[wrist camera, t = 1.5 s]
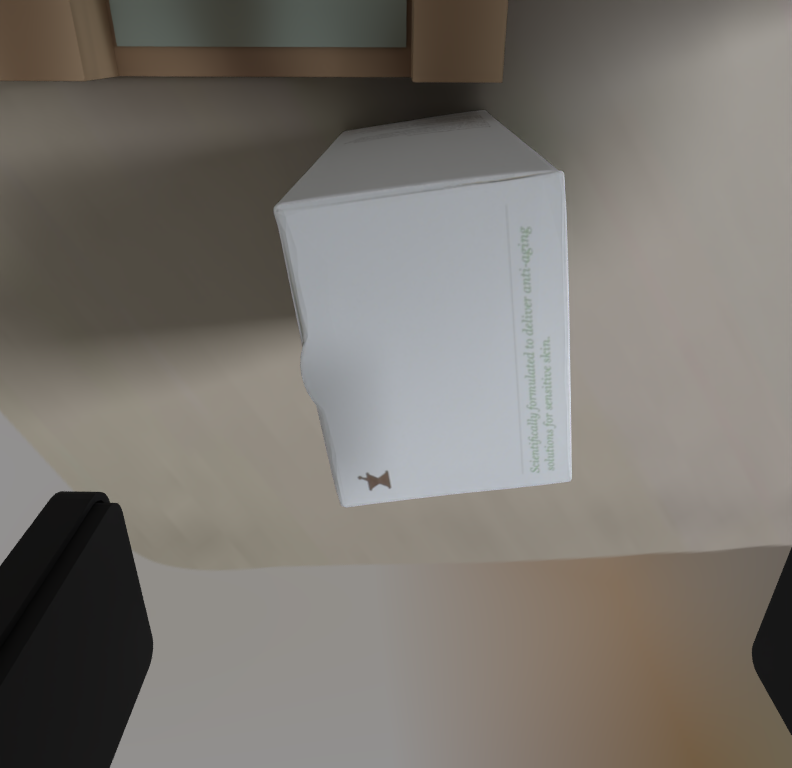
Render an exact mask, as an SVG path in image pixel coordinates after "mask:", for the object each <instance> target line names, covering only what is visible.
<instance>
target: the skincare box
mask: <svg viewBox="0 0 792 768" xmlns="http://www.w3.org/2000/svg"><path fill="white" fill-rule="evenodd" d="M273 210H274V216H275V219H276V222H277V225H278V229H279V234H280V239H281V244H282V249H283V254H284V259H285V264H286V269H287V274H288V279H289V284H290V289H291V294H292V298H293V303H294V308H295V313H296V317H297V322H298V327H299V332H300V337H301V342H302V352H301V362H300V368H301V375H302V379H303V382H304V385H305V388H306V390H307V393H308V394H309V396H310V397H311V399H312V400H313V402H314V403H315V404H316V406H317V410H318V415H319V419H320V424H321V428H322V432H323V437H324V441H325V446H326V450H327V454H328V458H329V462H330V467H331V472H332V476H333V480H334V484H335V488H336V492H337V495H338V497H339V501H340V504H341V506H344V507H353V506H360V505H367V504H375V503H383V502H391V501H399V500H408V499H416V498H425V497H433V496H441V495H450V494H459V493H469V492H479V491H489V490H499V489H509V488H519V487H527V486H536V485H545V484H553V483H562V482H570V481H571V479H572V465H571V389H570V325H569V280H568V245H567V211H566V195H565V178H564V172H563V171H562V170H557V169H556V168H555V167H554V166H553V165H551V164H550V163H549V162H548V161H547V160H545V159H544V158H543V157H542V156H540V155H539V154H538V153H537V152H536V151H535V150H533V149H532V148H531V147H529V146H528V145H527V144H526V143H524V142H523V141H522V140H521V139H519V138H518V137H517V136H516V135H515V134H514V133H512V132H511V131H510V130H508V129H507V128H506V127H505V126H504V125H502V124H501V123H500V122H499V121H498V120H496V119H495V118H494V117H493V116H491V115H490V114H489V113H488V112H487V111H486V110H478V111H470V112H462V113H455V114H449V115H442V116H435V117H429V118H423V119H417V120H410V121H404V122H398V123H392V124H385V125H379V126H373V127H367V128H361V129H354V130H348V131H344V132H342V133H341V134H340V136H339V137H338V138H337V139H336V140H335V141H334V142H333V143H332V145H331V146H330V147H329V148H328V149H327V150H326V151H325V152H324V153H323V154H322V155H321V157H320V158H319V159H318V160H317V161H316V162H315V163H314V164H313V166H312V167H311V168H310V169H309V170H308V171H307V172H306V173H305V174H304V175H303V176H302V177H301V178H300V180H299V181H298V182H297V183H296V184H295V185H294V186H293V187H292V188H291V189H290V190H289V191H288V193H287V194H286V195H285V196H284V197H283V198H282V199H281V200H280V201H279V202H278V203H277V204H276V205H275V207H274V208H273Z"/></svg>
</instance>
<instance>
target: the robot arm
mask: <svg viewBox="0 0 792 768" xmlns="http://www.w3.org/2000/svg"><path fill="white" fill-rule="evenodd" d="M152 652H153V638H152V634H151V629H150V625H149V621H148V617H147V612H146V608H145V604H144V600H143V596H142V592H141V587H140V583H139V579H138V575H137V571H136V567H135V563H134V558H133V554H132V550H131V546H130V541H129V537H128V533H127V529H126V525H125V520H124V516H123V512H122V509H121V507H120V505H119V504H117V503H110V501H109V499H108V497H107V496H106V494H105V493H102V492H63V491H62V492H58V493H56V494H55V495H54V496H53V497H52V498H51V499H50V500H49V502H48V503H47V504H46V505H45V507H44V508H43V510H42V511H41V512H40V514H39V515H38V516H37V518H36V519H35V520H34V522H33V523H32V525H31V526H30V527H29V528H28V530H27V531H26V532H25V534H24V535H23V536H22V538H21V539H20V541H19V542H18V543H17V544H16V546H15V547H14V548H13V550H12V551H11V552H10V554H9V555H8V556H7V558H6V559H5V560H4V562H3V563H2V564H1V566H0V768H110V765H111V763H112V760H113V758H114V755H115V753H116V750H117V748H118V745H119V742H120V740H121V737H122V735H123V732H124V729H125V727H126V725H127V722H128V720H129V717H130V715H131V712H132V709H133V707H134V704H135V702H136V699H137V697H138V694H139V692H140V689H141V687H142V684H143V681H144V679H145V676H146V674H147V671H148V669H149V666H150V663H151V659H152ZM752 659H753V664H754V667H755V670H756V672H757V674H758V676H759V678H760V680H761V681H762V683H763V685H764V687H765V689H766V691H767V692H768V694H769V696H770V698H771V699H772V701H773V703H774V705H775V706H776V708H777V710H778V712H779V714H780V715H781V717H782V719H783V721H784V722H785V724H786V726H787V728H788V730H789V732H790V733H791V735H792V548H791V551H790V553H789V556H788V558H787V561H786V563H785V566H784V568H783V571H782V573H781V576H780V578H779V581H778V583H777V586H776V589H775V591H774V593H773V596H772V598H771V601H770V603H769V606H768V608H767V611H766V613H765V616H764V618H763V621H762V623H761V626H760V628H759V631H758V633H757V636H756V639H755V641H754V643H753V647H752Z"/></svg>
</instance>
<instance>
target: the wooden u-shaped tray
mask: <svg viewBox="0 0 792 768" xmlns="http://www.w3.org/2000/svg"><path fill="white" fill-rule="evenodd" d="M507 10H508V0H0V81H90V80H97V79H103V78H110V77H117V76H201V77H411V78H412V81H413V82H479V83H502V78H503V65H504V51H505V38H506V24H507Z"/></svg>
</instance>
